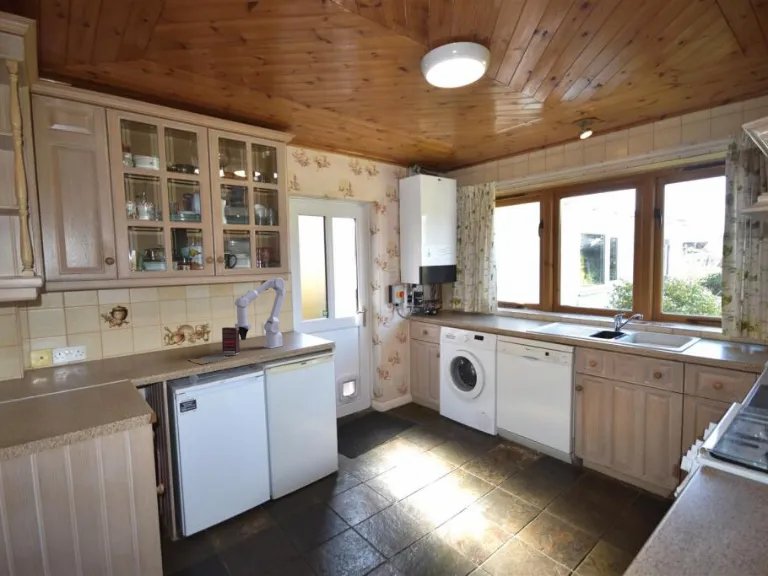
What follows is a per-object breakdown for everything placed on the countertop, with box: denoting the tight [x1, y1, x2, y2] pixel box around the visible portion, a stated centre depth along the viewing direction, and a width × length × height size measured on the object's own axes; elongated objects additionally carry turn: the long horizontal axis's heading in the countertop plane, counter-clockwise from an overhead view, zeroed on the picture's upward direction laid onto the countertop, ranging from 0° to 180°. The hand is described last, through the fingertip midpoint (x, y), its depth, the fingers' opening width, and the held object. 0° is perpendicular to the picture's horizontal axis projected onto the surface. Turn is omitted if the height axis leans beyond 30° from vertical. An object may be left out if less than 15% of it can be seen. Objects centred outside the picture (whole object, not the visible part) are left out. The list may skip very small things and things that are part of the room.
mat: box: [201, 353, 233, 363], centre depth 216 cm, size 18×16×1 cm
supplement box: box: [221, 326, 241, 356], centre depth 226 cm, size 9×5×16 cm, turn 84°
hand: (243, 339), depth 232 cm, fingers closed
